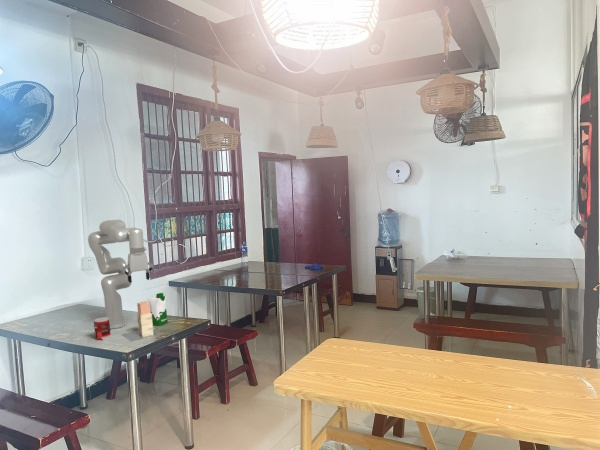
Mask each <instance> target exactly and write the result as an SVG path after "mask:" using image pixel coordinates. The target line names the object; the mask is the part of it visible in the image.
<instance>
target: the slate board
mask: <svg viewBox="0 0 600 450" xmlns="http://www.w3.org/2000/svg"><path fill="white" fill-rule="evenodd" d="M160 335H161V333H159V332H158V331H156V330H155V329H153V335H149V336H145V337H142V336H140V335H139V329H137V330H134V331H131V332H126V333H122V334H121V336H123V337H124V338H126V340H129V342H131V343H132V342H135V341H140V340H144V339H147V338H152V337H156V336H160Z"/></svg>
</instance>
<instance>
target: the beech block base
mask: <svg viewBox="0 0 600 450" xmlns="http://www.w3.org/2000/svg"><path fill="white" fill-rule="evenodd" d="M137 326H138V329H137V330H139V335H140V336H142V337H145V336H149V335H153V330H154V326H153V324H150V325H145V326H140V325H138V324H137Z"/></svg>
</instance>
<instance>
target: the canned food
mask: <svg viewBox="0 0 600 450" xmlns="http://www.w3.org/2000/svg"><path fill="white" fill-rule="evenodd" d="M93 327H94V337H95V340H97V341H103V340H104V339H103V338H106V337H109V336H111V329H110V323H109V318H108V317H106V316H104V317H98V318H97V317H96V318H94V320H93Z"/></svg>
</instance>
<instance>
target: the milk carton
mask: <svg viewBox="0 0 600 450" xmlns="http://www.w3.org/2000/svg"><path fill="white" fill-rule="evenodd" d="M147 302H149V304H150V313H152V323H153V327H162V326H164V325H167V324H169V322H168V321H169V320H168V313H167V295H164V293H163V292H159V293H156V295H154V296H151V297H148V298H147Z"/></svg>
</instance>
